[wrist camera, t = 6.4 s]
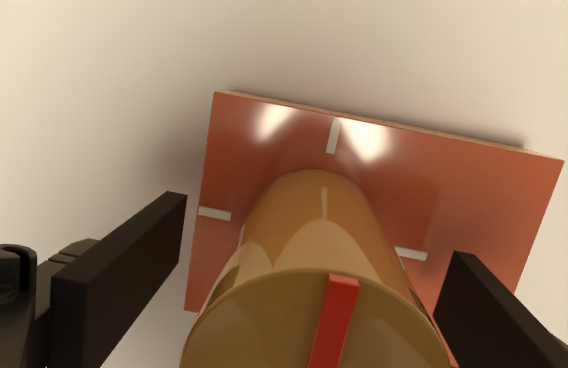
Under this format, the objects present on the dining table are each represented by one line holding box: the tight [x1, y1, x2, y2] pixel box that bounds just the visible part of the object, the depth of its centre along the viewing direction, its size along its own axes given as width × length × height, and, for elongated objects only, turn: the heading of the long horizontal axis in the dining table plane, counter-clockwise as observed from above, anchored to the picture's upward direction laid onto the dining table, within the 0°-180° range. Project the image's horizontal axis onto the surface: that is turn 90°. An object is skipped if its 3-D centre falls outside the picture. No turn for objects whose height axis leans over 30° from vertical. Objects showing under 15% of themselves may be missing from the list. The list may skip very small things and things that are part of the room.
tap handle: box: [179, 169, 451, 368], centre depth 12 cm, size 6×6×9 cm
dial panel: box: [184, 90, 564, 367], centre depth 18 cm, size 14×10×3 cm
